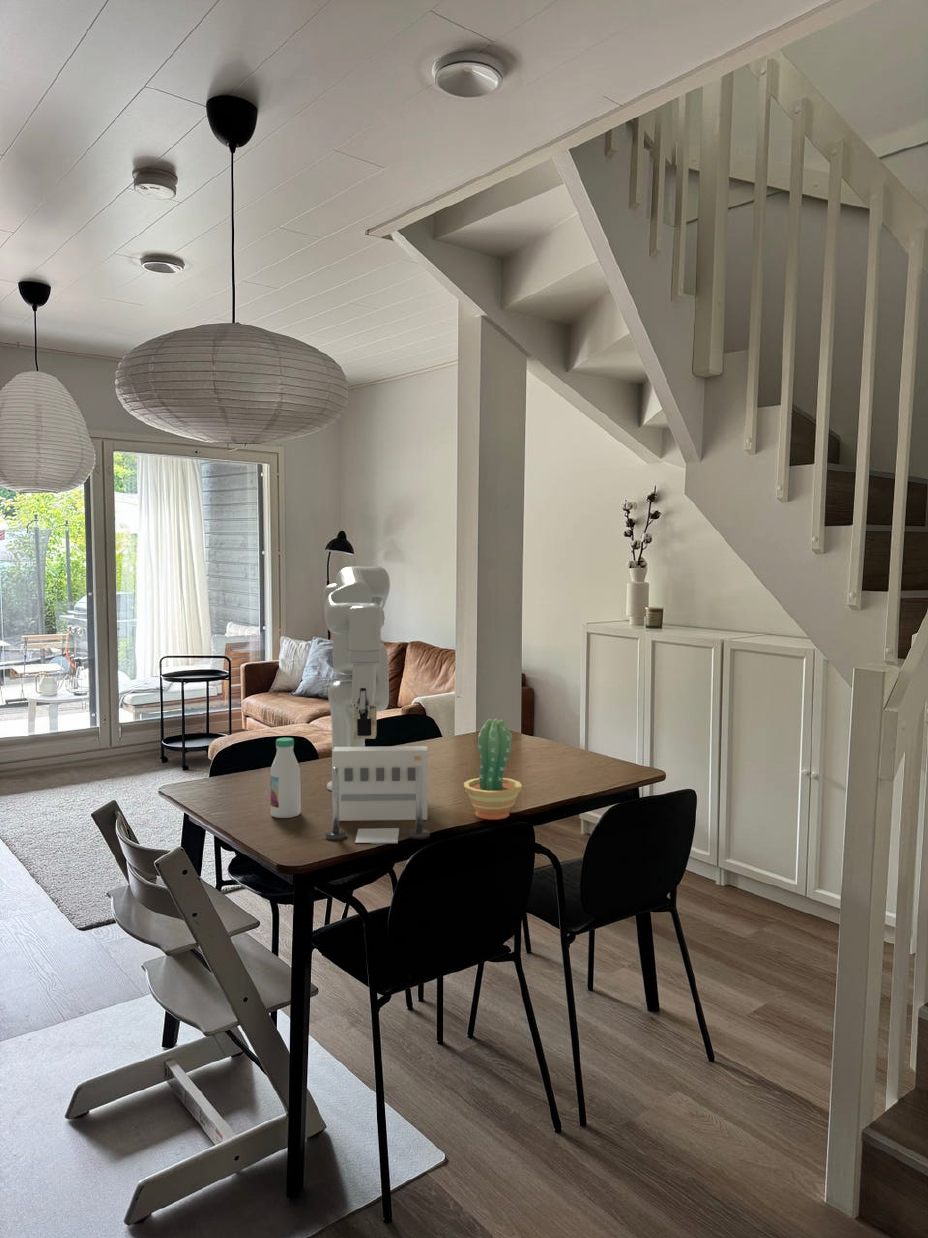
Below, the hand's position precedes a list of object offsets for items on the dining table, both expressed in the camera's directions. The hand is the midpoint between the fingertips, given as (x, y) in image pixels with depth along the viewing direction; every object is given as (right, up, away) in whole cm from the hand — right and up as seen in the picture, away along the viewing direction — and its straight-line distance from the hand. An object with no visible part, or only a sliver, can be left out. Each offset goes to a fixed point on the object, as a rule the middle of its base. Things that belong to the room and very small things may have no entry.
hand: (365, 732), depth 205 cm
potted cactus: (+31, -24, +20) cm, 44 cm away
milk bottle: (-23, -24, +20) cm, 39 cm away
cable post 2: (+13, -25, +2) cm, 28 cm away
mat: (+3, -25, +2) cm, 26 cm away
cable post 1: (-7, -25, +2) cm, 26 cm away
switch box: (+2, -24, +17) cm, 30 cm away
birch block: (0, -1, 0) cm, 1 cm away
